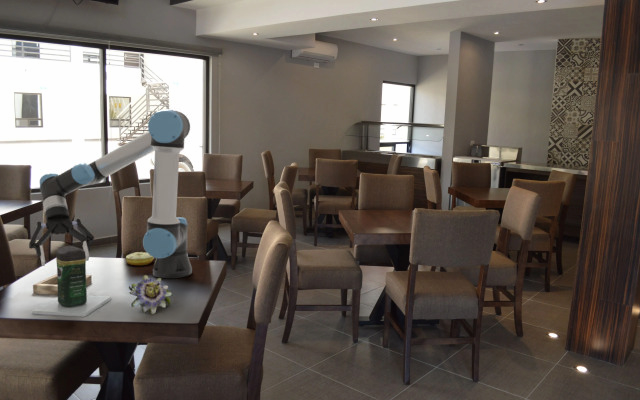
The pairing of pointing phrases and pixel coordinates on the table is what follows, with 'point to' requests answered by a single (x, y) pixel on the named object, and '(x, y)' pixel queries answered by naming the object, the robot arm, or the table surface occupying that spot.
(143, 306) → the passion flower
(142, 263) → the decorated donut
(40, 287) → the holder collar
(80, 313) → the ceramic tile
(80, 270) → the coffee jar
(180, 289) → the table surface
